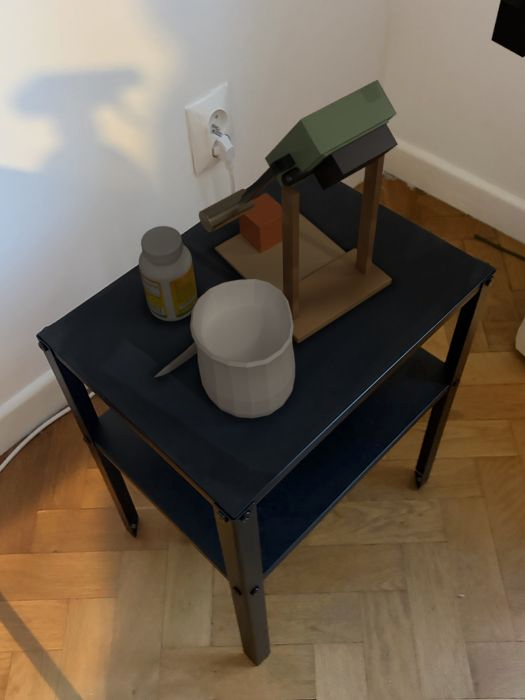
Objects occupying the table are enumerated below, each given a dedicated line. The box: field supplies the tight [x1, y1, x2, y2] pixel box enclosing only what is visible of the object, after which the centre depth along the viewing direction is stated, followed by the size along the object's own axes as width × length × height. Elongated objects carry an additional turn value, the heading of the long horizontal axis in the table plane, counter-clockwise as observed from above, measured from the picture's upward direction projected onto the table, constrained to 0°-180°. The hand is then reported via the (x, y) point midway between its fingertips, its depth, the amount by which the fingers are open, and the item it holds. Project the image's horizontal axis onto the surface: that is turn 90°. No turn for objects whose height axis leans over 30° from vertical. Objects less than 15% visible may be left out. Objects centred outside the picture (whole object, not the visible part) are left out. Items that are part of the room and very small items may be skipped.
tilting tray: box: [198, 79, 399, 233], centre depth 65 cm, size 15×16×5 cm
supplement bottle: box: [138, 225, 199, 322], centre depth 75 cm, size 5×5×10 cm
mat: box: [214, 212, 347, 292], centre depth 82 cm, size 10×11×1 cm
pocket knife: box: [154, 341, 198, 378], centre depth 74 cm, size 14×1×2 cm, turn 131°
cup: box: [189, 279, 296, 419], centre depth 68 cm, size 10×10×10 cm
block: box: [238, 192, 282, 253], centre depth 82 cm, size 4×4×4 cm
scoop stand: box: [280, 154, 393, 344], centre depth 71 cm, size 6×13×18 cm, turn 127°
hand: (514, 44), depth 48 cm, fingers closed
